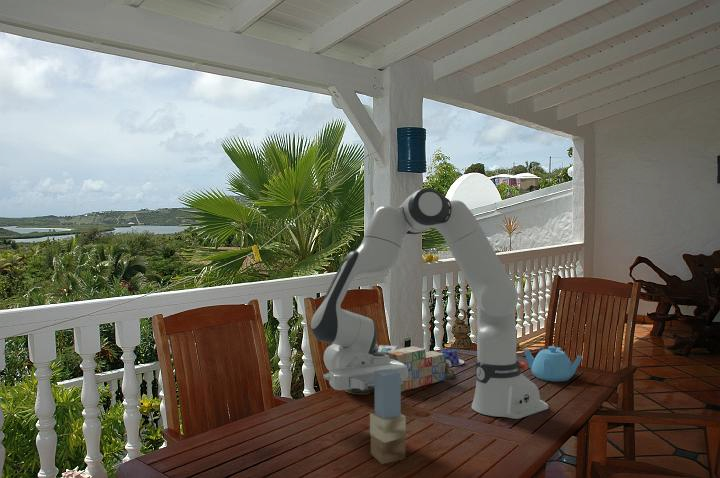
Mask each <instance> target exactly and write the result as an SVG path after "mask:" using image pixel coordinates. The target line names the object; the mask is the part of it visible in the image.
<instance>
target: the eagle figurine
mask: <svg viewBox="0 0 720 478" xmlns="http://www.w3.org/2000/svg"><path fill="white" fill-rule="evenodd" d="M455 377H456V374H455V372H454V370H453V369H452V366H451V361H450V360H448V359H446V362H445V380H452V379H454V378H455Z"/></svg>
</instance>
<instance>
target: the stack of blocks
mask: <svg viewBox="0 0 720 478" xmlns="http://www.w3.org/2000/svg"><path fill="white" fill-rule="evenodd" d="M386 355H388V356H389V359H394V360H397V361H399V362H401V363H403V364H405V365H406V366H407V368H408V378H407V380H406V381H403V384H401V392H404V391H409V390H412V389H417V388H420V387H423V386H427V385H431V384H435V383H439V382H443V381H445V380H446V379H445V354H443V353H441V352H438V351H434V350H431V351H426V348H423V347H417V346H414V345H413V346H409V347H408V346H407V347H401V348H398V349H397V350H392V351H387V352H386Z"/></svg>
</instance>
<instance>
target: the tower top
mask: <svg viewBox="0 0 720 478" xmlns="http://www.w3.org/2000/svg"><path fill="white" fill-rule="evenodd" d="M406 417H407V416H406V415H405V414H403V413H401V416H399V417H393V418H388V419H382V418H381V417H380V416H378V415H377V414H375V411H374V412H370V413H369V435H370V436H371V435H372V436H374V437H375V438H377V439H379V440H380V441H382V442H384V443H386V442H390V441H394V440H397V439H401V438H405V439H406V438H407V437H406V436H407V435H406V434H407V433H406V432H407V427H406V425H407V423H406V422H407V418H406Z"/></svg>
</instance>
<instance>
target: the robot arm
mask: <svg viewBox="0 0 720 478" xmlns="http://www.w3.org/2000/svg"><path fill="white" fill-rule="evenodd" d="M432 228H433V229H434V230H437V231H438V232H439V234H440V235H441V236H442V237H443V239H444V242H445V243H446V245H447V247H448V249H449V250H450V253H451V254H452V256H453V258H454V259H455V262H456V264H457V266H458V267H459V269H460V270H461V272H462V275H463V277H464V278H465V280H466V282H467V284H468V286H469V288H470V290H471V292H472V294H473V295H474V298H475V299H476V326H477V327H476V330H477V331H476V335H477V336H476V337H477V338H476V339H477V340H476V344H477V345H476V348H477V349H476V351H477V353H476V356H477V357H476V359H475V375H476V376H475V377H476V383H475V389H474V390H475V391H474V396H473V400H472V403H471V409H472V410H473V411H475V412H476V413H478V414H482V415H486V416H490V417H497V418H498V417H500V418H501V417H502V418H509V419H516V420H518V419H522V418H525V417H527V416H531V415H534V414H537V413H539V412H543V411H546V410H548V409H549V405H548V403H547V402H545V401H544V400H542V399H541V397H540V391H539V388H538V386H537V385H536V384H535V383H534V382H533V381H532V380H530V379H529V378H528V377H526V376H525V375H524V374H523V373H522V371H521V369H522V370H524V371H526V370H528V367H529V365H528V362H524V361H518V360H517V328H516V327H517V326H516V308H517V305H518V301H519V295H518V290H517V289H516V287H515V285H514V283H513V281H512V280H511V279H512V278H511V277H510V276H509V274H508V273H507V271H506V269H505V267H504V265H503V264H502V261H500V259H499V257H498V255H497V254H496V253H497V252H496V251H495V250H494V248H493V246H492V244H491V242H490V240H489V239H488V238H487V236H486V234H485V231H484V229H482V226H481V225H480V223H479V222H478V220H477V218H476V217H475V215H474V214H473V212H472V211H471V210H470V209H469V207H468V206H467V205H466V204H465V203H464V202H463V201H461V200H458V199H457V200H456V199H455V200H450V199H449V198H448V197H446V196H444V195H443V194H442V193H441V192H440V191H438V190H437V189H435V188H432V187H423V188H419V189H417V190H415V191H414V192H413V193H412V194H410V195H409V196H408V197H407V198H406V199H405V200H404V201H403V203H401V204H400V206H398V207H396V206H393V205H382V206H381V205H380V206H379V207H378V208H376V209H375V210H374V212H373V214H372V216H371V218H370V220H369V222H368V225H367V227H366V230H365V232H364V236H363V239H362V241H361V243H360V244H359V246H358V247H357V248H356V249H355V250H353V251H350V252H348V253H347V255H345V257H344V259H343V260H342V261H341V263H340V265H339V268H338V269H337V271H336V273H335V276H334V277H333V279H332V281H331V283H330V285H329V287H328V288H327V291H326V293H325V294H324V297H323V299H322V301H321V302H320V304H319V305H318V306H317V309H316V310H315V311H314V313H313V315H312V317H311V320H310V325H309V326H310V330H311V332H312V335H313V336H314V338H315V339H316V340H317V341H318V342H321V343H326V344H330V345H329V346H327V347H326V349H325V351H323V352H324V353H323V362H324V365H325V367H326V369H327V370H328V372H326V373H324V374H323V377H322V378H323V379H325V380H327V381H328V382H329V383H328V384H329V385H330V387H331V388H333V389H334V390H336V391H345V390H346V389H353V388H358V389H361V390H365V389H368V386H372V387H374V386H375V384H374V371H378V370H386V369H393V370H395V371H397V372H399V373H401V384H403V381H406V380H407V378H408V368H407V366H406V365H405V364H403V363H401V362H399V361H397V360H394V359H389V356H388V355H385V354H371V352H372V351H373V349H374V347H375V344H376V343H377V340H378V332H377V331H378V330H377V326H376V323H375V321H374V320H373V319H372V318H370V317H368V316H364V315H361V314H359V313H355V312H352V311H349V310H348V309H347V310H346V309H344V308H341V307H342V306H341V305H342V303H343V301H344V299H345V297H346V294H347V292H348V290H349V288H350V286H351V284H352V282H353V281H354V280H355V279H356V278H357V277H358V276H362V275H371V274H372V275H374V274H375V275H376V274H383V273H385V272H388V271H389V270H391V269H392V268H394V267H395V265H396V264H397V261H398V259H399V256H400V252H401V249H402V245H403V241H404V239H405V236H406V235H418V234H422V233H423V232H424V233H425V232H427V231H428V230H430V229H432Z"/></svg>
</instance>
